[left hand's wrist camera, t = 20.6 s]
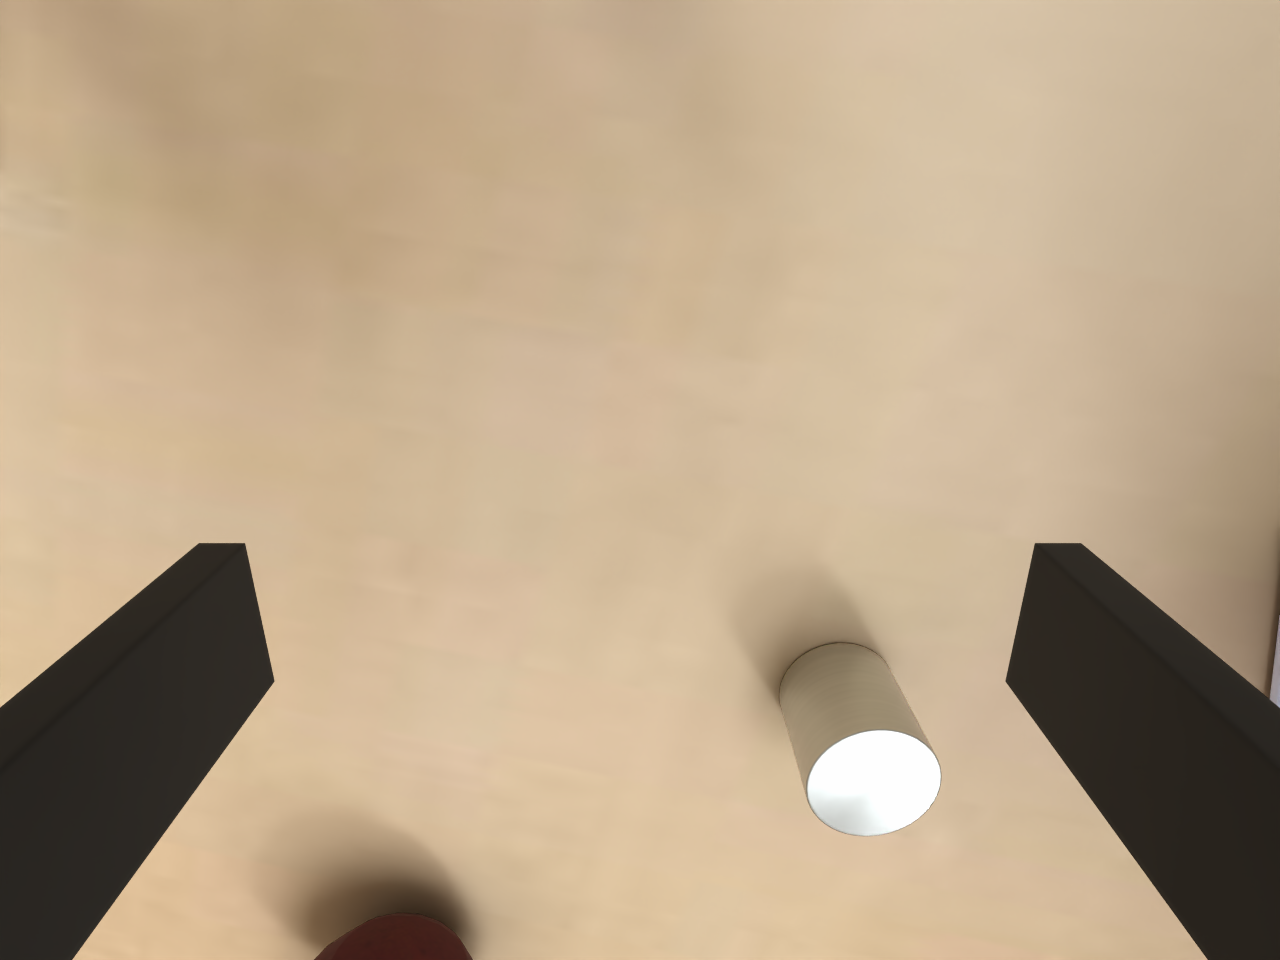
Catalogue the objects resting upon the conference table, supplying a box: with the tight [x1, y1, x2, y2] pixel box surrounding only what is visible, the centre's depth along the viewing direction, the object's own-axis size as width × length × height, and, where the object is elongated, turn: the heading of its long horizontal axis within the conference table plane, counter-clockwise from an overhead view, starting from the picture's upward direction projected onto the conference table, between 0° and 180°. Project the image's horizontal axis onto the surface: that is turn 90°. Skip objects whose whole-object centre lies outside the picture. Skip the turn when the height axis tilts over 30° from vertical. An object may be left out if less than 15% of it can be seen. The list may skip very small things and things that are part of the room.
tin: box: [779, 643, 941, 836], centre depth 25 cm, size 4×4×5 cm
